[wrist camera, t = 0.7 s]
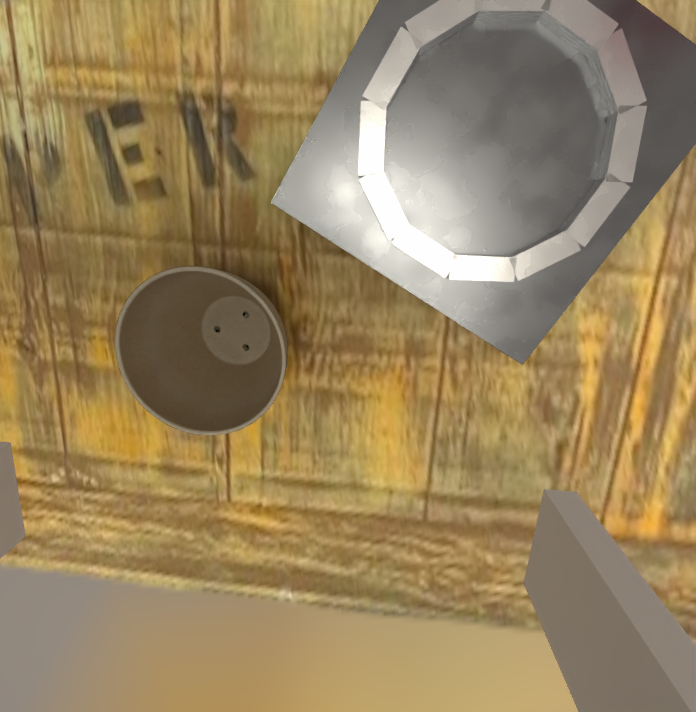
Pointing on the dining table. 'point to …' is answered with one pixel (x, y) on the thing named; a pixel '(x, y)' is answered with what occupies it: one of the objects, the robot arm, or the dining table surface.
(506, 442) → the dining table surface
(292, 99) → the dining table surface
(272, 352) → the flower pot
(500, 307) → the ring plate
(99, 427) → the dining table surface
